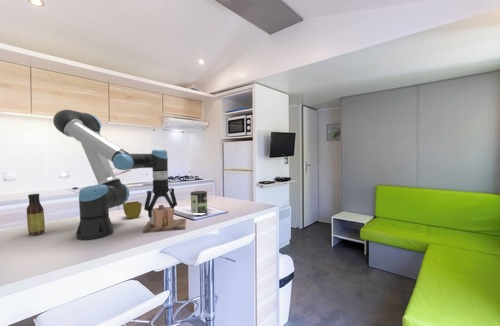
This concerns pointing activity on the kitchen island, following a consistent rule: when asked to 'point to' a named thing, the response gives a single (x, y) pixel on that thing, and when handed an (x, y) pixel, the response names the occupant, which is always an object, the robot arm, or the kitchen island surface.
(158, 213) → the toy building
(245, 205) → the kitchen island surface
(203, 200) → the coffee can
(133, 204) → the flower pot
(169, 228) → the base
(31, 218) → the sauce bottle
